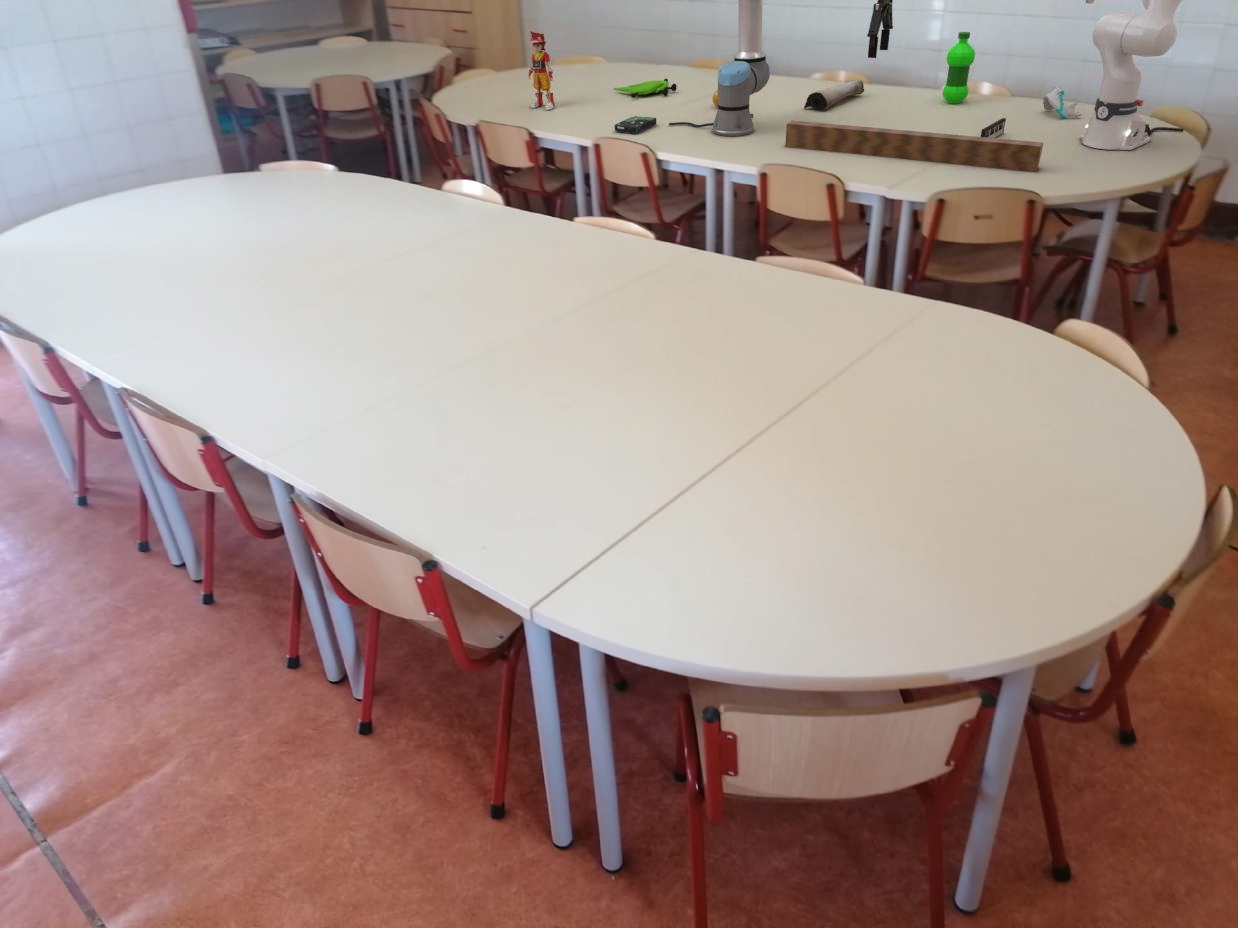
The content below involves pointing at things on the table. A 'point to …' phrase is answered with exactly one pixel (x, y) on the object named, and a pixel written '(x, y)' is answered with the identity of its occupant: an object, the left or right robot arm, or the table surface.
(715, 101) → the fruit
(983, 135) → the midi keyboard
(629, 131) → the disk drive
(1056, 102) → the anatomical model
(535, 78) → the toy
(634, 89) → the toy
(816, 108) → the rolled mat
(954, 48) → the plastic bottle
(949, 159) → the bar
